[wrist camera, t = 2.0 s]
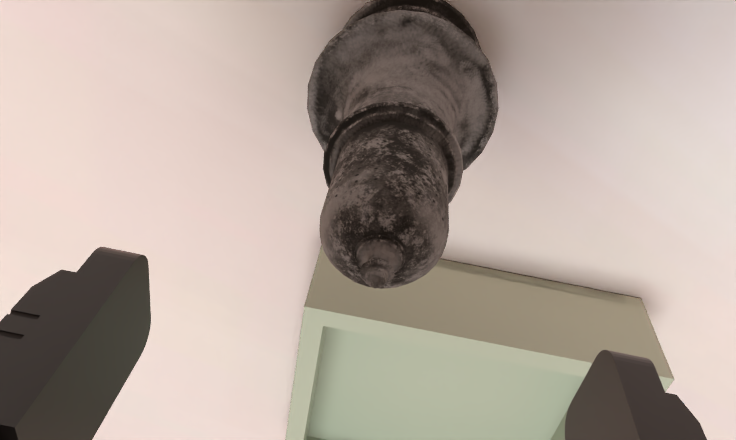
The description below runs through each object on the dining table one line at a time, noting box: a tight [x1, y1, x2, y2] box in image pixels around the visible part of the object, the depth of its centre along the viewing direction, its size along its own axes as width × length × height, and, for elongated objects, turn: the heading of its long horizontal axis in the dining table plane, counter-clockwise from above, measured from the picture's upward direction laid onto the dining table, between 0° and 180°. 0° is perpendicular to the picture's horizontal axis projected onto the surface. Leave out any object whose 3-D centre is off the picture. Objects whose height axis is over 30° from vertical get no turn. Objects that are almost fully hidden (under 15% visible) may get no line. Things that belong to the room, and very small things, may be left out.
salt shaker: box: [307, 0, 498, 289], centre depth 16 cm, size 6×6×12 cm
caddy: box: [285, 246, 674, 440], centre depth 28 cm, size 14×14×4 cm
